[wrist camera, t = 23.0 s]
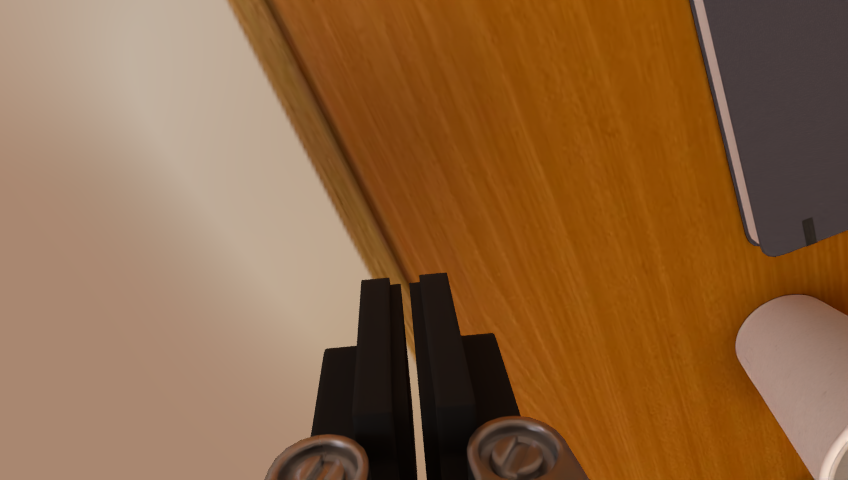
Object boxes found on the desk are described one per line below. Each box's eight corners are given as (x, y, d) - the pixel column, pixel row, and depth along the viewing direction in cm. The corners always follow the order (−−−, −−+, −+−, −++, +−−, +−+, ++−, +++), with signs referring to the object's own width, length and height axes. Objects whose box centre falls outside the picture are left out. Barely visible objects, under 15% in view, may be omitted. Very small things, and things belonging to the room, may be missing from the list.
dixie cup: (714, 407, 36) (819, 551, 27) (710, 291, 33) (829, 411, 24) (852, 379, 36) (1007, 517, 27) (863, 258, 32) (1044, 368, 23)
